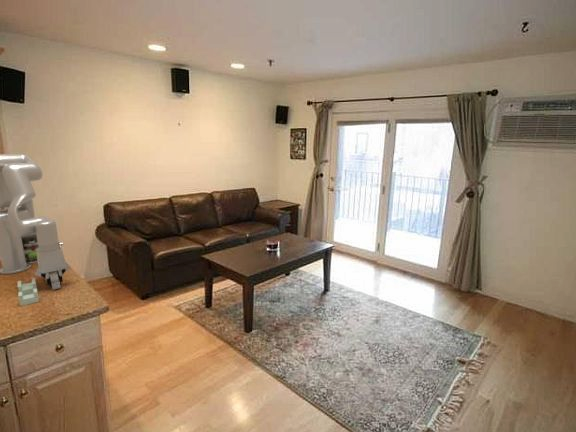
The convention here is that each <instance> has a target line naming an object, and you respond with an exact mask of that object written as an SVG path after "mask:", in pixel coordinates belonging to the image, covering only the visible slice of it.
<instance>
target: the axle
mask: <svg viewBox="0 0 576 432" xmlns="http://www.w3.org/2000/svg"><path fill="white" fill-rule="evenodd" d="M49 276H50V279H51V285H52V286H51V288H52V290H56V289H61V285H60V281H59V278H58V274H57V271H53V272H49Z"/></svg>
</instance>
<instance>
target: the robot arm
mask: <svg viewBox="0 0 576 432" xmlns="http://www.w3.org/2000/svg"><path fill="white" fill-rule="evenodd" d="M42 177H43V170H42V169H41V167H40V165H39V164H38V163H37V162H36V161H34V160H33V159H32V158H30V157H29V156H28V155H27V154H24V153H2V154H1V153H0V262H1V268H0V274H1V275H11V274H12V275H13V274H18V273H20V272H21V273H22V272H23V271H26V270H29V269H31V268H32V267H31V263H26V259H25V254H24V248H23V243H22V238H21V237H26V236H31V235H35V234H36V235H37V241H38V247H39V251H37V262H36V263H37V268H36V271H35V273H34V275H35V276H39V277H42V278H43V279H45V278H46V279H47V284H46V285H47V286H49V287H50V288H52V285H51V279H50V276H49V272H53V271H58V273H59V274H58V278H59V281H60V286H61V285H62V282H63V276H64V274H65V273H66V272H67V271H69V270H70V269H71V266H70V265H69V264H68V263H67V262H66V257H65V254H64V250H63V248H62V246H64V243H63V242H60V240H59V235H58V227H57V223H56V221H55V220H54V219H51V218H49V217H48V216H46V215H43V216H42V215H41V216H37V217H36V216H35V210H34V201H33V200H34V198H35V197H36V196H37V194H36V191H35V188H34V186H33V184H32V183H31V182H32V181H40V180H41V179H42ZM1 208H5V209H1ZM44 273H45V274H44Z"/></svg>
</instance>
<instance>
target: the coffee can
mask: <svg viewBox="0 0 576 432" xmlns="http://www.w3.org/2000/svg"><path fill="white" fill-rule="evenodd" d="M21 238H22V243H23V248H24V254H25V259H26V263H30V264H36V263H37V251H39V247H38V241H37V235H36V234H35V235H31V236H26V237H21Z"/></svg>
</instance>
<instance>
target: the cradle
mask: <svg viewBox="0 0 576 432" xmlns="http://www.w3.org/2000/svg"><path fill="white" fill-rule="evenodd" d="M16 282H17V289H18V293H17V294H18V295H17V297H18V301H19V305H20V307H23V306H27V305H31V304H35V303H39V302H40V298H39V293H38V287H37V282H36V277H31V282H28V283H22V280H17V281H16Z"/></svg>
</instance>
